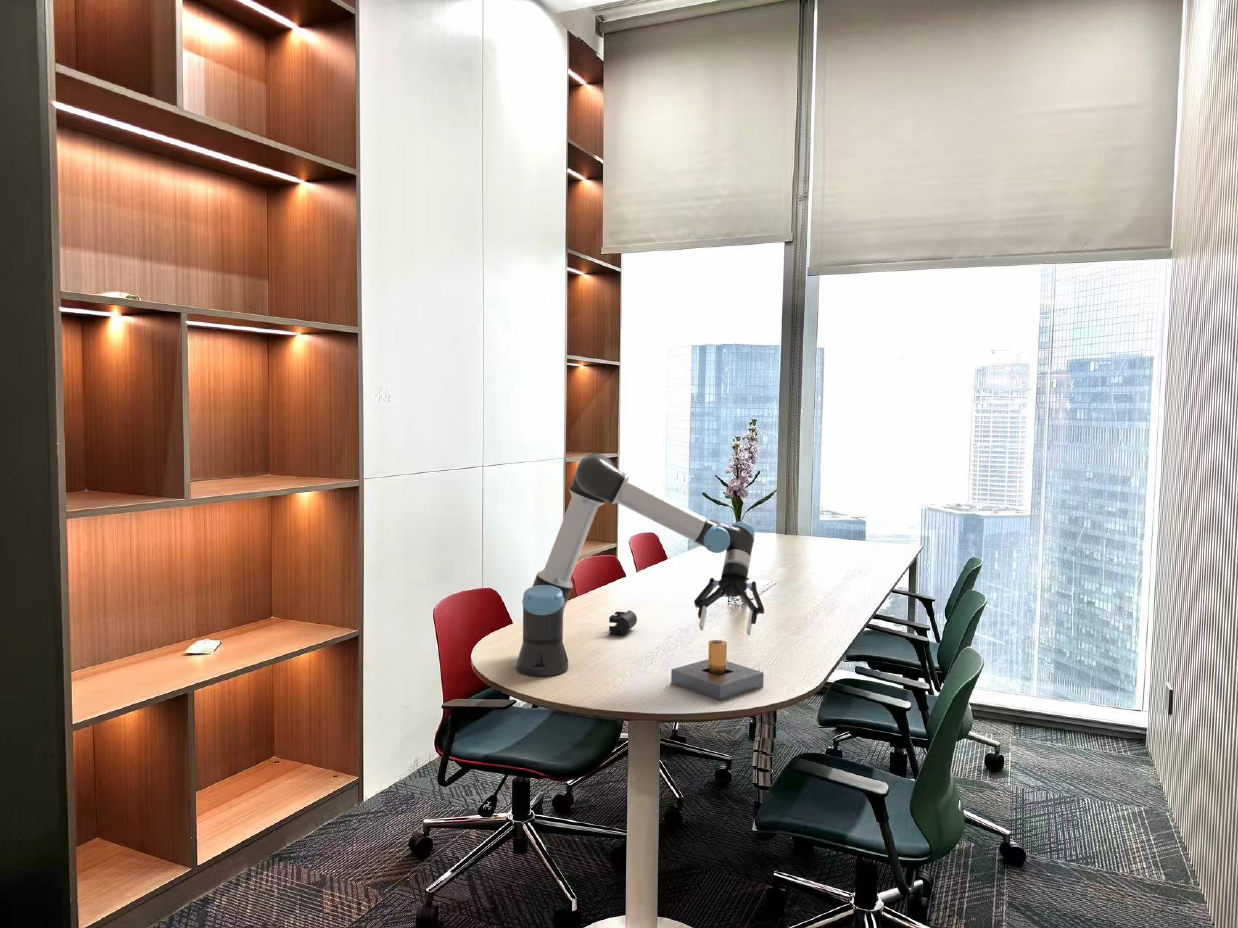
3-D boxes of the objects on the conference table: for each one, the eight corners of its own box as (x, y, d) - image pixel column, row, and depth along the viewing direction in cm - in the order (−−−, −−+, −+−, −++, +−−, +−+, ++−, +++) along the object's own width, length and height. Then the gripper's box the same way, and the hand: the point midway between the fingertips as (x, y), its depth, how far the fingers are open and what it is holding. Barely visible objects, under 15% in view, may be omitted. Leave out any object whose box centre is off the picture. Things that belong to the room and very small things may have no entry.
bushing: (717, 689, 228) (718, 645, 227) (704, 684, 231) (704, 641, 231) (730, 685, 231) (730, 642, 230) (716, 680, 235) (717, 638, 234)
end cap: (628, 637, 279) (629, 617, 278) (608, 635, 281) (608, 615, 280) (636, 630, 288) (637, 610, 288) (617, 628, 290) (617, 608, 290)
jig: (719, 700, 219) (720, 685, 218) (671, 683, 232) (671, 669, 232) (763, 686, 230) (763, 672, 230) (714, 670, 244) (714, 657, 244)
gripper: (778, 578, 248) (769, 641, 235) (697, 572, 256) (683, 632, 243) (776, 564, 242) (767, 627, 229) (693, 558, 250) (679, 618, 237)
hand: (724, 630), depth 236 cm, fingers open, 13 cm apart
